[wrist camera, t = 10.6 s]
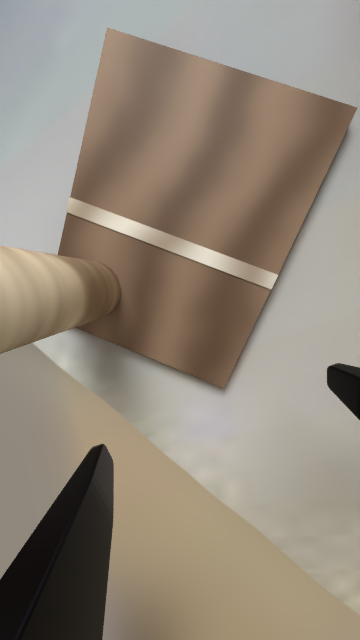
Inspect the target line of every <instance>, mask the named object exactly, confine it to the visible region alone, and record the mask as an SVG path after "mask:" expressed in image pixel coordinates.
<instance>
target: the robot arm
mask: <svg viewBox="0 0 360 640" xmlns="http://www.w3.org/2000/svg"><path fill="white" fill-rule="evenodd" d="M327 384H328V387H329V388H330V390H331V391H332V392H333V393H334V394H335V395H336V396H337V397H338V398H339V399H340V400H341V401H342V402H343V403H344V404H345V405H346V406H347V407H348V408H349V410H350V411H351V412H352V413H353V414H354V415H355V416H356V417H357V418H358V419H359V420H360V368H359V367H354V366H350V365H345V364H340V363H337V364H334V365H331V366H329V367H328V368H327ZM113 472H114V471H113V460H112V457H111V455H110V453H109V452H108V449H107V448H106V446H105V445H104V444H100V445H97V446H94V447H92V449H90V451H89V452H88V454H87V455H86V457H85V458H84V459H83V461H82V463H81V464H80V465H79V467H78V468H77V470H76V471H75V472H74V474H73V475H72V477H71V478H70V480H69V481H68V482H67V484H66V486H65V487H64V488H63V490H62V491H61V493H60V494H59V495H58V497H57V498H56V500H55V501H54V503H53V504H52V506H51V507H50V508H49V510H48V511H47V513H46V514H45V516H44V517H43V519H42V520H41V521H40V523H39V524H38V526H37V527H36V529H35V530H34V532H33V533H32V534H31V536H30V537H29V539H28V540H27V542H26V543H25V545H24V546H23V547H22V549H21V551H20V552H19V553H18V555H17V556H16V558H15V559H14V561H13V562H12V563H11V565H10V566H9V568H8V569H7V571H6V572H5V573H4V575H3V576H2V578H1V579H0V640H102V636H103V625H104V614H105V602H106V593H107V582H108V571H109V559H110V549H111V538H112V528H113V483H114V482H113V481H114V479H113V477H114V474H113Z"/></svg>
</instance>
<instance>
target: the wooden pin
mask: <svg viewBox="0 0 360 640" xmlns="http://www.w3.org/2000/svg"><path fill="white" fill-rule="evenodd" d="M120 298H121V286H120V282H119V280H118V278H117V276H116V274H115V273H114V272H113V270H112V269H111V268H109V267H108V266H107V265H105V264H103V263H100V262H96V261H90V260H84V259H78V258H72V257H66V256H60V255H54V254H48V253H42V252H36V251H30V250H24V249H18V248H12V247H6V246H0V354H2V353H4V352H7V351H10V350H12V349H16V348H18V347H21V346H24V345H27V344H30V343H32V342H35V341H38V340H41V339H44V338H46V337H49V336H52V335H55V334H58V333H60V332H63V331H66V330H69V329H72V328H74V327H77V326H80V325H83V324H86V323H88V322H91V321H94V320H97V319H100V318H102V317H105V316H107V315H109V314H111V313H112V312H113V311H114V310H115V309H116V308H117V306H118V304H119V302H120Z"/></svg>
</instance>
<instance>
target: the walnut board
mask: <svg viewBox="0 0 360 640" xmlns="http://www.w3.org/2000/svg"><path fill="white" fill-rule="evenodd" d="M356 110H357V107H353V106H350V105H347V104H344V103H341V102H338V101H335V100H332V99H328V98H325V97H322V96H319V95H316V94H313V93H310V92H307V91H303V90H300V89H297V88H294V87H291V86H288V85H285V84H282V83H279V82H275V81H272V80H269V79H266V78H263V77H260V76H257V75H254V74H250V73H247V72H244V71H241V70H238V69H235V68H232V67H229V66H225V65H222V64H219V63H216V62H213V61H210V60H207V59H204V58H201V57H197V56H194V55H191V54H188V53H185V52H182V51H179V50H176V49H172V48H169V47H166V46H163V45H160V44H157V43H154V42H151V41H148V40H144V39H141V38H138V37H135V36H132V35H129V34H126V33H123V32H119V31H116V30H113V29H110V28H107V31H106V36H105V40H104V45H103V49H102V54H101V59H100V63H99V68H98V72H97V77H96V82H95V86H94V91H93V95H92V100H91V105H90V109H89V114H88V118H87V123H86V128H85V132H84V137H83V141H82V146H81V151H80V155H79V160H78V164H77V169H76V174H75V178H74V183H73V187H72V192H71V197H69V202H68V206H67V211H66V212H67V215H66V220H65V224H64V229H63V233H62V238H61V243H60V247H59V252H58V255H60V256H66V257H72V258H78V259H84V260H90V261H96V262H100V263H103V264H105V265H107V266H108V267H109V268H111V269H112V270H113V272H114V273H115V274H116V276H117V278H118V280H119V282H120V286H121V298H120V302H119V304H118V306H117V308H116V309H115V310H114V311H113V312H112V313H111V314H109V315H107V316H105V317H102V318H100V319H97V320H94V321H91V322H88V323H86V324H83V325H80V326H77V327H76V328H78V329H81V330H83V331H85V332H88V333H90V334H93V335H95V336H98V337H100V338H103V339H105V340H107V341H110V342H112V343H115V344H117V345H120V346H122V347H124V348H127V349H129V350H132V351H134V352H137V353H139V354H141V355H144V356H146V357H149V358H151V359H154V360H156V361H158V362H161V363H163V364H166V365H168V366H171V367H173V368H175V369H178V370H180V371H183V372H185V373H188V374H190V375H192V376H195V377H197V378H200V379H202V380H205V381H207V382H210V383H212V384H214V385H217V386H219V387H222V388H224V387H225V385H226V383H227V381H228V379H229V377H230V375H231V373H232V371H233V368H234V366H235V364H236V362H237V360H238V358H239V356H240V354H241V352H242V350H243V347H244V345H245V343H246V341H247V339H248V337H249V335H250V333H251V331H252V328H253V326H254V324H255V322H256V320H257V318H258V316H259V314H260V312H261V310H262V307H263V305H264V303H265V301H266V299H267V297H268V295H269V293H270V291H271V289H272V287H273V285H274V283H275V281H276V279H277V277H278V274H279V272H280V270H281V267H282V265H283V263H284V261H285V259H286V257H287V255H288V253H289V251H290V249H291V246H292V244H293V242H294V240H295V238H296V236H297V234H298V232H299V230H300V227H301V225H302V223H303V221H304V219H305V217H306V215H307V213H308V211H309V209H310V206H311V204H312V202H313V200H314V198H315V196H316V194H317V192H318V190H319V187H320V185H321V183H322V181H323V179H324V177H325V175H326V173H327V171H328V169H329V166H330V164H331V162H332V160H333V158H334V156H335V154H336V152H337V150H338V148H339V145H340V143H341V141H342V139H343V137H344V135H345V133H346V131H347V129H348V126H349V124H350V122H351V120H352V118H353V116H354V114H355V112H356Z"/></svg>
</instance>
